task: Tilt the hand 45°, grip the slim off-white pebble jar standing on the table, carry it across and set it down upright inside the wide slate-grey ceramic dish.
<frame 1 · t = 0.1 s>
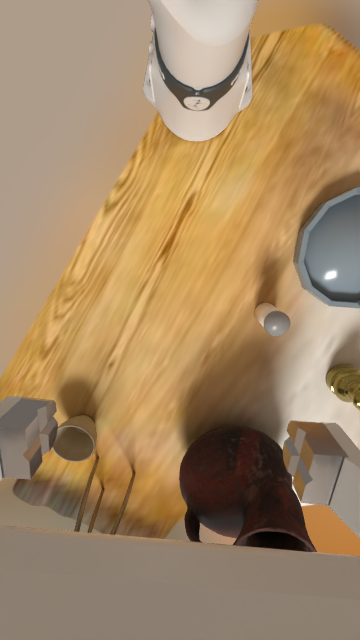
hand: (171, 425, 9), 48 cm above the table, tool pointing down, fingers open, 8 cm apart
dish: (351, 250, 53), on the table
juicer: (108, 469, 71), on the table
flower pot: (84, 423, 67), on the table
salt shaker: (340, 377, 61), on the table
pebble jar: (264, 312, 57), on the table
jug: (229, 450, 68), on the table
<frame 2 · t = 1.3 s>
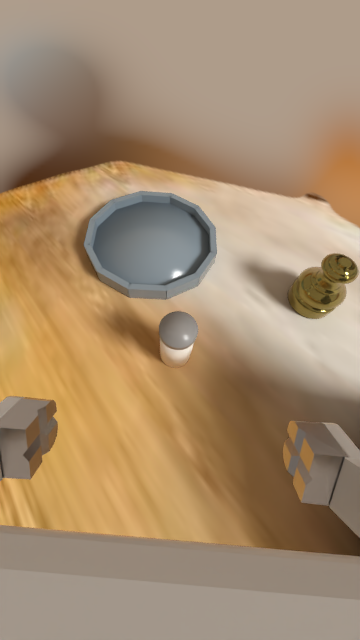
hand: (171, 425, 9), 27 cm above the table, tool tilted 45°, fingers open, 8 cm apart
dish: (152, 245, 48), on the table
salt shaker: (308, 300, 45), on the table
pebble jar: (175, 353, 39), on the table
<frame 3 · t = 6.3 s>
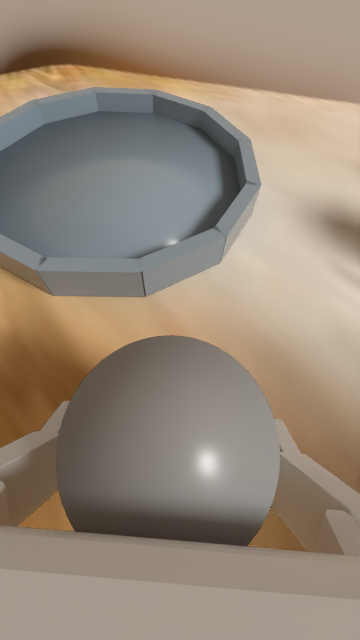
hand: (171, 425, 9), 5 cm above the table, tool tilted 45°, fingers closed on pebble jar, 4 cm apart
dish: (117, 186, 22), on the table
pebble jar: (169, 451, 13), on the table, touching gripper
when the fingers open (6 cm above the table, at t = 12.2 s): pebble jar stays where it is, resting on dish.
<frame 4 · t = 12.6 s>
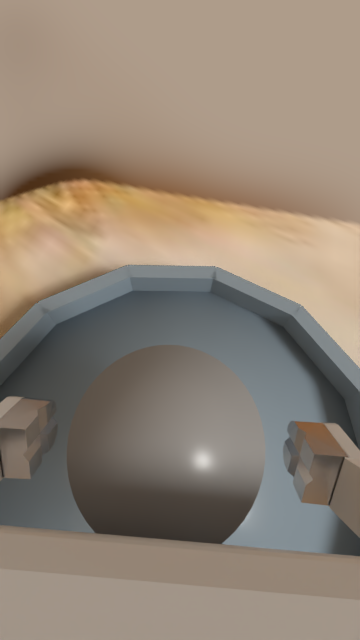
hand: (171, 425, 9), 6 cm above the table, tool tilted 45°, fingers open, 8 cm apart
dish: (169, 452, 15), on the table
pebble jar: (169, 451, 14), point 1 cm above the table, touching dish
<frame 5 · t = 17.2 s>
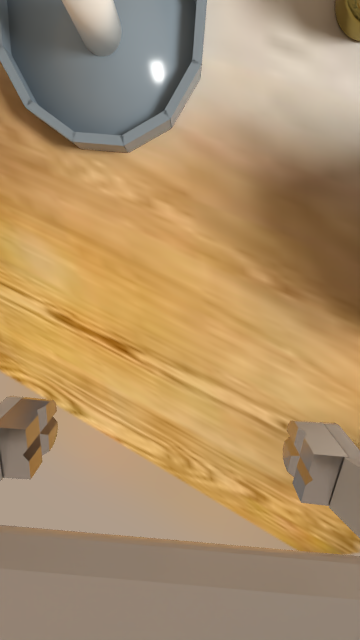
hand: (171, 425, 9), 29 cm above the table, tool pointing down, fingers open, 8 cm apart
dish: (104, 38, 30), on the table
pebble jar: (101, 31, 29), point 1 cm above the table, touching dish
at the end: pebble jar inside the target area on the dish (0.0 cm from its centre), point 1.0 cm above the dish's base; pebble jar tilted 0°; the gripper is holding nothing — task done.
